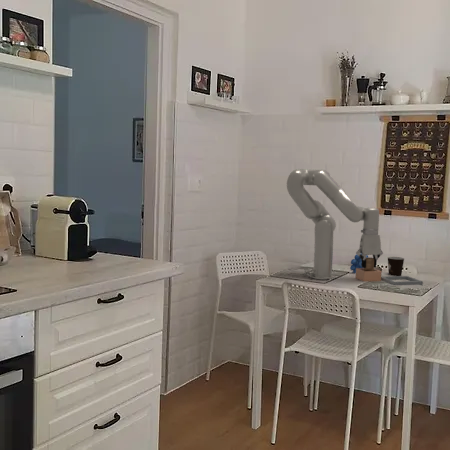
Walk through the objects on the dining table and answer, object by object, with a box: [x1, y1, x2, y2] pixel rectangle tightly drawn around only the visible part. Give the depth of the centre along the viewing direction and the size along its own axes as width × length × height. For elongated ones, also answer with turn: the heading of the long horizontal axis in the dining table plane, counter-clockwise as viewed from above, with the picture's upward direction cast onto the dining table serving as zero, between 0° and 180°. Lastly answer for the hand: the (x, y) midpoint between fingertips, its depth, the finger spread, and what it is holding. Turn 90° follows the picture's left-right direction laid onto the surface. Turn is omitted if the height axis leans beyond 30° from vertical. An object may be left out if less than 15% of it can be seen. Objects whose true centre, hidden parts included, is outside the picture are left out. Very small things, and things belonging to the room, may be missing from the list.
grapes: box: [349, 253, 369, 274], centre depth 337 cm, size 12×7×12 cm, turn 111°
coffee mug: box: [387, 256, 405, 276], centre depth 335 cm, size 12×9×10 cm
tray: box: [381, 275, 424, 286], centre depth 315 cm, size 16×14×2 cm
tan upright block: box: [364, 256, 375, 271], centre depth 318 cm, size 5×5×11 cm
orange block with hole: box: [355, 268, 382, 283], centre depth 319 cm, size 9×9×6 cm
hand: (368, 267), depth 318 cm, fingers closed on tan upright block, 4 cm apart
